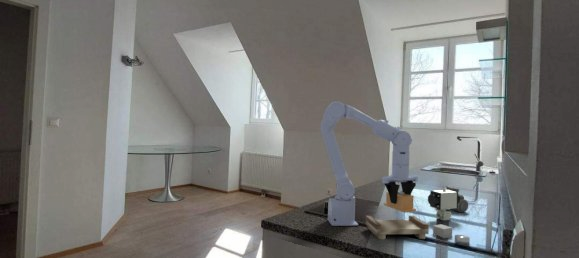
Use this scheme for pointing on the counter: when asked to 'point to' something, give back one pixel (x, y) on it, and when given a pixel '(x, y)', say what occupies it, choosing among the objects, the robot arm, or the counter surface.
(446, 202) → the pneumatic valve
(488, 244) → the counter surface
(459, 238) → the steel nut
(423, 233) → the stand
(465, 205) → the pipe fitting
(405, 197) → the housing
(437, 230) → the rubber block
